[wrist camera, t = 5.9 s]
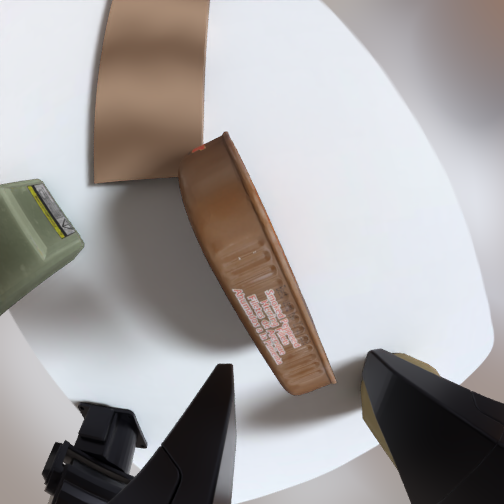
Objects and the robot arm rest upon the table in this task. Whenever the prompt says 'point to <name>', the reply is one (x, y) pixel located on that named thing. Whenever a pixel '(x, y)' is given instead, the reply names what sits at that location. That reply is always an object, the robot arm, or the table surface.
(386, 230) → the table surface
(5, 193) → the handheld radio
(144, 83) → the walnut board
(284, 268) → the tin
